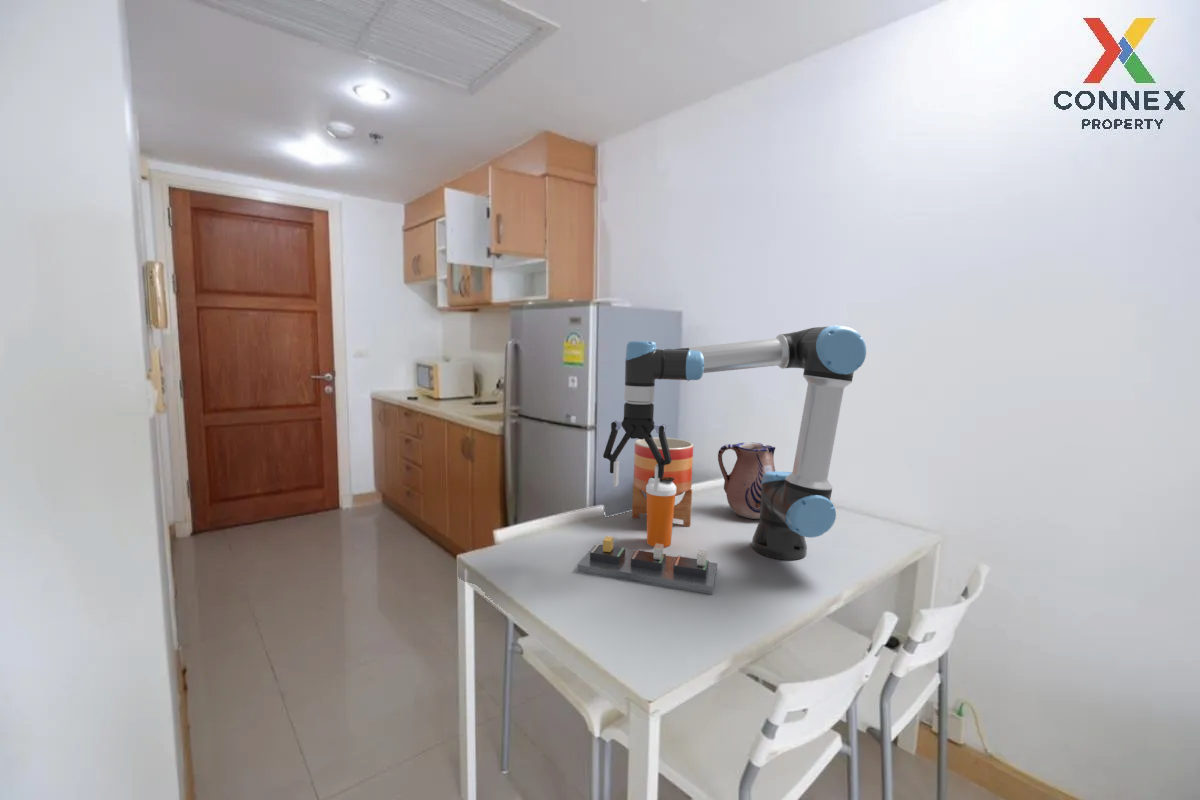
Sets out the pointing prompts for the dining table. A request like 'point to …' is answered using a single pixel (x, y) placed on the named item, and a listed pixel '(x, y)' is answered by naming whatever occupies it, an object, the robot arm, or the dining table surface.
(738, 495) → the ceramic pitcher
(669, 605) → the dining table surface
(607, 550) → the toggle
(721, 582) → the dining table surface
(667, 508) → the shaker bottle
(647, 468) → the planter
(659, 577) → the breaker panel
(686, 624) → the dining table surface
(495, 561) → the dining table surface
